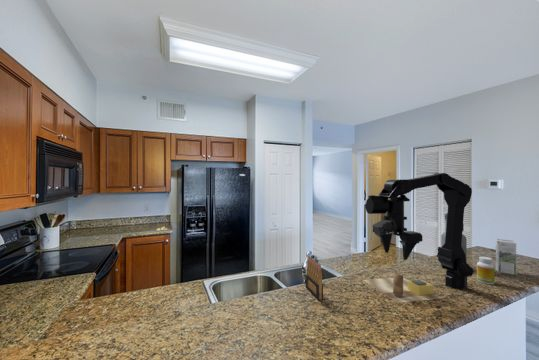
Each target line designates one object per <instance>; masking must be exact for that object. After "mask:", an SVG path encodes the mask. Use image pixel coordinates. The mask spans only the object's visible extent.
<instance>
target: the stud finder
mask: <svg viewBox="0 0 539 360" xmlns="http://www.w3.org/2000/svg"><path fill="white" fill-rule="evenodd" d="M407 289H408V290H410V291H412V292H413V293H415V294H417V295H428V294H433V293H434V285H433V284H431V283H429V282H427V281H425V280H423V279H415V280H409V281H408V284H407Z"/></svg>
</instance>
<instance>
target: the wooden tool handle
mask: <svg viewBox="0 0 539 360" xmlns="http://www.w3.org/2000/svg"><path fill="white" fill-rule="evenodd" d="M392 276H393V277H392V278H393V293H394V296H396V297H402V295H403V278H404V275H403V274H401V273H393V275H392Z"/></svg>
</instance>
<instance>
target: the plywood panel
mask: <svg viewBox="0 0 539 360" xmlns="http://www.w3.org/2000/svg"><path fill="white" fill-rule="evenodd" d="M408 281H410V280H409V279H407V278H405V277H403V295H402V297H396V296H394V293H393V277H385V278H374V279H372V278H371V279H369V278H368V279H363V282H365V283H367V284H368V285H369V286H371V287H373V288H374V289H375V290H377V291H379V292H380V293H381V294H383V295H385V296H387V297H388V298H389V299H391V300H392V301H394V302H395V303H397V304H401V303H411V302H413V303H414V302H421V301H431V300H440V299H444V297H443V296H442V295H441V296H440V295H439V294H437V293H435V292H433V294H428V295H417V294H415V293H413V292H412V291H410V290H408V289H407V284H408Z"/></svg>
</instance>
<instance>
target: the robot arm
mask: <svg viewBox="0 0 539 360" xmlns="http://www.w3.org/2000/svg"><path fill="white" fill-rule="evenodd" d="M431 186H436V187H437V188H438V190H439V191H441V192H442V193H443V199H444V201H445V203H446V206H447V225H446V238H445V244H444V245H443V246H442V247H441V246H438V247H437V254H436V257H437V261H438V262H439V264H440V267H441V268H442V269H444V270H445V281H444V282H445V286H446V287H448V288H451V289H458V290H466V289H468V290H469V291H470V290H471V291H472V289H471V288H468V277H472V276H473V274H474V272H475V271H474V269H473V268H472V267H471V266H470V264H468V263H466V254H465V252H464V250H463V249H462V246H461V243H462V234H463V232H464V230H463V224H464V217H465V208H466V207H467V206H468V204H469V202H470V201H471V198H472V194H473V189H472V187H471V186H470V185H469V184H467V183H465V182H463V181H461V180H459V179H457V178H454V177H452V176H451V175H450V174H448V173H446V172H439V173H437V172H435V173H433V174H430V175H425V176H420V177H413V178H409V179H388V180H386V181H385V182H384V185H383V188H382V189H381V190H380V192H379V193H378V195H373V194H371V195H370V194H369V195H368V197H367V199H366V201H365V206H364V208H365V211H366V213H367V214H370V215H375V214H376V215H383V214H386V215H384V216H383V220H380V221H377V222H375V223H374V224H372V233H374V234H375V235H376V236H377V237H378V238H379V239H380V242H381V245H382V246H383V250H384V253H387V254H388V253H389V251H390V247H391V241H392V237H393V236H398V237H399V239H400V240H399V243H400V244H401V245H402V258H403V260H404V261H407V260H408V258H409V256H411V253H412V251H413V250H414V248H416V247H415V246H416V245H418V244H420V242H421V243H422V242H423V234H422V233H421V232H417V231H413V230H409V231H408V228H407V227H405V221H406V220H408V217H407V216H405V202H410V201H411V199H410V198H408V197H407V195H406V194H409V193H411V192H412V191H413V190H417V189H422V188H427V187H431ZM462 231H463V232H462Z"/></svg>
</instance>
